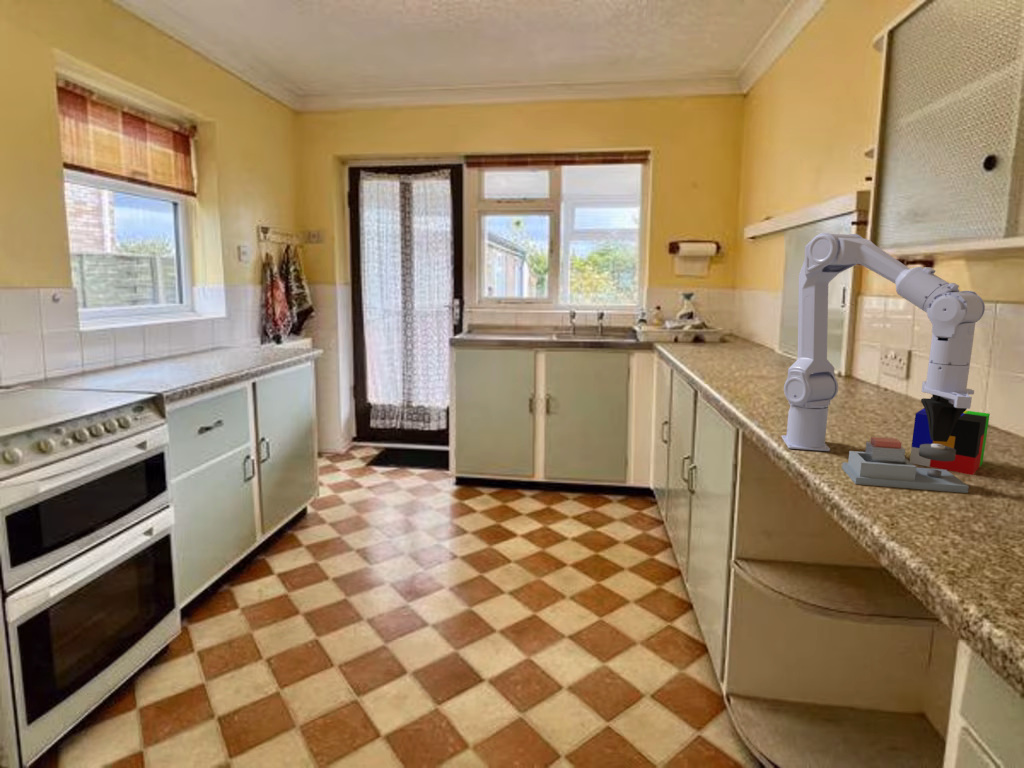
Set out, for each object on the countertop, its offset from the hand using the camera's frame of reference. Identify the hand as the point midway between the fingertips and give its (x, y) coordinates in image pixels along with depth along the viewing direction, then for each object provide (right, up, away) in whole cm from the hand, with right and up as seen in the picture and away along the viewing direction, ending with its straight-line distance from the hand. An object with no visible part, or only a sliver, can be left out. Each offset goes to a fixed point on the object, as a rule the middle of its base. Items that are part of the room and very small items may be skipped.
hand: (938, 440), depth 106 cm
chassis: (-5, -7, +3) cm, 9 cm away
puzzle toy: (+10, -6, +13) cm, 17 cm away
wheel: (0, -3, +1) cm, 3 cm away
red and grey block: (-8, -6, +3) cm, 10 cm away
